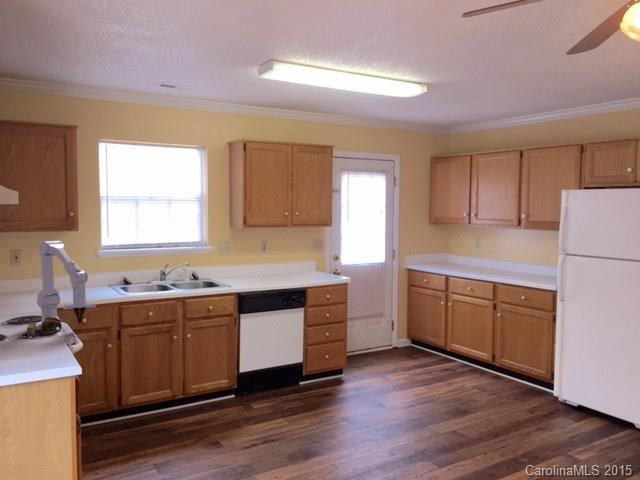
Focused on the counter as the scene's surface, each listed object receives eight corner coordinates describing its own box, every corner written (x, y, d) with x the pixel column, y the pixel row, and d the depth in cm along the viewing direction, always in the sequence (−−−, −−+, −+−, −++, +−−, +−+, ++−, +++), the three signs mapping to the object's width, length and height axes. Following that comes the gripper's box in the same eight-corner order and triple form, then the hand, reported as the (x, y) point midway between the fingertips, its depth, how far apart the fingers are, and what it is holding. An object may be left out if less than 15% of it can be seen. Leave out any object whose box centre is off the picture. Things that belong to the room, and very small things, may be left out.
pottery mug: (34, 333, 260) (40, 317, 264) (53, 339, 267) (58, 323, 270) (46, 330, 253) (51, 314, 257) (65, 336, 260) (70, 320, 263)
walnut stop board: (30, 330, 264) (30, 322, 264) (36, 330, 265) (35, 322, 264) (27, 336, 253) (26, 327, 252) (32, 335, 254) (32, 327, 253)
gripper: (62, 297, 259) (63, 325, 260) (94, 296, 265) (95, 323, 265) (63, 295, 266) (64, 322, 267) (95, 293, 271) (95, 320, 272)
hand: (80, 322), depth 266 cm, fingers closed
